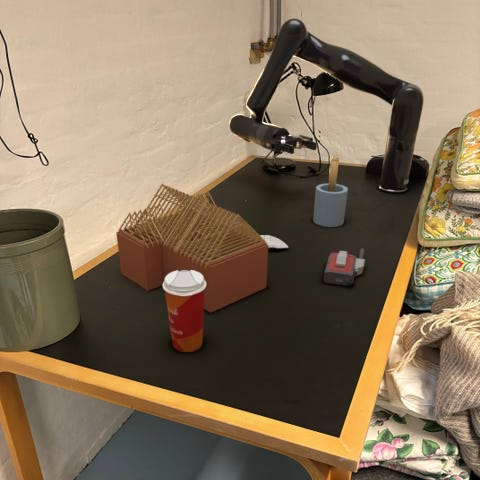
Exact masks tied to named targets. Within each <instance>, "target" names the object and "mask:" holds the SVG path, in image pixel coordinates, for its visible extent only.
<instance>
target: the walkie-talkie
mask: <svg viewBox="0 0 480 480" xmlns="http://www.w3.org/2000/svg"><path fill="white" fill-rule="evenodd" d="M364 256H365V248H363V247H362V248H360V250H359V255H358V258H357V256H356V255H354V254H352V253H351V254H349V251H347V250H338V252H336V251H335V252H331V253H329V256H328V259H327V261H326V265H325V269H324V273H323V282H324V283H326V284H330V285H337V286H345V287H349V286H352V285H353V284H354V281H355V277H357V276H359V275H362V274H363V271H364V268H365V263H366V259H364Z"/></svg>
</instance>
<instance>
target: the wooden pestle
mask: <svg viewBox="0 0 480 480" xmlns="http://www.w3.org/2000/svg"><path fill="white" fill-rule="evenodd" d="M339 163H340V158H339V157H338V156H337V155H334V156H332V157H331V158H330V165H329V174H328V183H327V184H328V192H335V190H336V184H337V179H338V171H339V165H340V164H339Z"/></svg>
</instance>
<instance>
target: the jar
mask: <svg viewBox="0 0 480 480" xmlns="http://www.w3.org/2000/svg"><path fill="white" fill-rule="evenodd" d="M348 191H349V188H348V187H347V186H345V185H343V184H339V183H336V190H335V192H328V183H321V184H318V185H316V187H315V196H314V205H313V206H314V207H313V217H312V220H313V223H314V224H316V225H317V226H320V227H324V228H336V227H341V226H343V225H344V222H345V217H346V216H345V214H346V208H347V200H348Z"/></svg>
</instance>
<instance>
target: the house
mask: <svg viewBox="0 0 480 480" xmlns="http://www.w3.org/2000/svg"><path fill="white" fill-rule="evenodd" d="M161 189H162V190H161ZM159 192H160V193H159ZM209 199H210V200H211V201H212V203H210V202H209V201H210V200H209ZM162 201H163V202H162ZM166 202H167V203H166ZM164 205H165V206H164ZM168 206H169V207H168ZM163 207H164V208H163ZM167 208H168V209H167ZM175 209H176V210H175ZM179 210H180V211H179ZM165 211H166V212H165ZM174 211H175V212H174ZM173 212H174V213H173ZM163 214H164V215H163ZM128 219H129V220H128ZM127 220H128V221H127ZM128 225H129V226H128ZM115 235H116V243H117V249H118V258H119V266H120V273H121V275H123V276H124V277H126V278H127V279H129V280H131V281H132V282H134V283H135V284H136V285H138V286H139V287H141V288H142V289H145V290H146V291H147V292H148V291H151V290H153V289H156V288H159V287H161V286H163V283H164V280H165V277H166V276H167V275H168V274H169V273H171V272H173V271H177V270H178V272H179V271H181V270H188V271H190V270H194V271H197V272H199V273H201V274H202V275H203V277H204V280H205V281H206V287H205V289H204V310H205V311H207V312H209V313H213V312H215V311H218V310H219V309H222V308H224V307H226V306H228V305H230V304H231V305H232V304H233V303H236V302H237V301H239V300H241V299H244V298H247V297H248V296H251V295H252V294H255V293H257V292H260V291H263V290H264V289H266V288H267V285H268V283H267V282H268V281H267V280H268V262H269V261H268V259H269V247H268V244H267V242H266V241H265V240H264V239H263V238H262V237H261V236H260V235H261V234H260V233H259V232H258V231H257V230H255V229H254V228H253V227H252V226H251V225H250V224H249V222H247V221H246V220H245V219H244V218H243V217H242V216H241V215H240V214H239V213H237V214H236V213H235V212H232V211H230V210H227V209H226V208H222V207H221V206H217V205H216V203H215V201H214V199H213V197H212V195H211V194H210V192H209V191H206V193H205V192H201V193H197V195H196V196H195V194H193V195H192V194H191V195H189V193H185V192H184V191H181V190H178V189H177V188H176V189H175V188H174V187H171V186H168V185H166V184H163V183H161V185H159V187H158V189H157V191H156V192H155V194H154V196H153V197H152V199H151V200H150V201H149V203H148V205H147V206H146V207H145V208H144V209H143V210H142V209H139V211H138V212H137V211H136V210H134V211H133V213H132V214H131V212H129V213H128V214H127V216H126V217H125V219H124V220H123V222H122V224H121V225H120V227H119V228H118V230H117V231H116V232H115ZM190 272H191V271H190Z"/></svg>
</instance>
